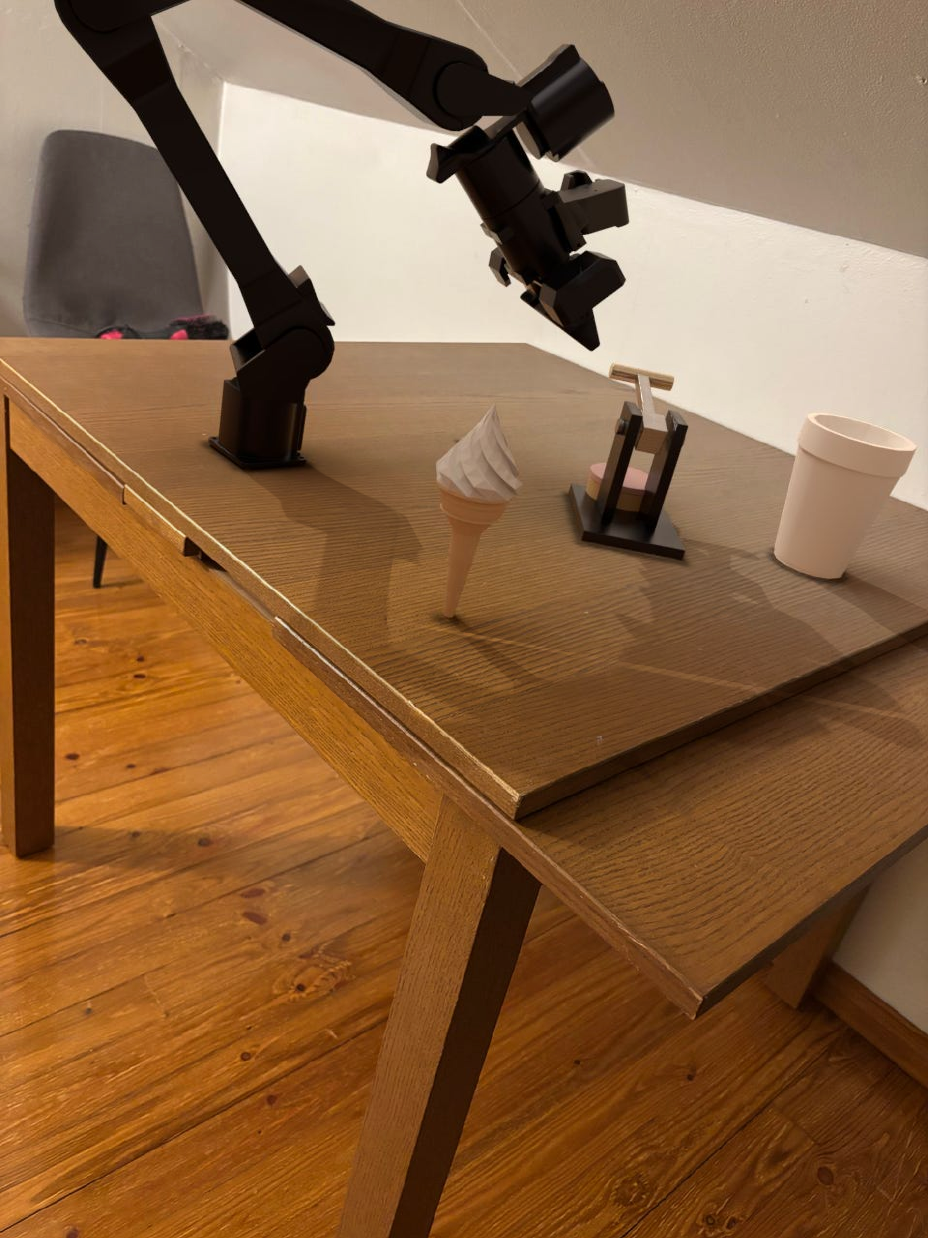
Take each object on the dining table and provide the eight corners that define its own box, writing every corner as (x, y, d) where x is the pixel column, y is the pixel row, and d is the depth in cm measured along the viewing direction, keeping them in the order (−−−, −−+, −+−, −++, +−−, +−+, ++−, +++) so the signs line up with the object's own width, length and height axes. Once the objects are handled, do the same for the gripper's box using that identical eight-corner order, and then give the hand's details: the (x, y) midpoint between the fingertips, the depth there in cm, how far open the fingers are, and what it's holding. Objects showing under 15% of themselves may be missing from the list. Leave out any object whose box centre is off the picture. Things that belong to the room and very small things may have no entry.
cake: (618, 527, 90) (629, 492, 88) (567, 498, 94) (576, 465, 92) (662, 519, 94) (673, 486, 92) (611, 493, 98) (621, 460, 96)
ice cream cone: (459, 648, 63) (512, 424, 56) (389, 614, 65) (432, 394, 59) (502, 622, 68) (555, 411, 61) (435, 591, 70) (479, 384, 63)
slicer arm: (606, 377, 94) (614, 355, 93) (666, 390, 95) (675, 368, 93) (613, 446, 85) (622, 422, 84) (680, 459, 86) (689, 436, 84)
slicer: (567, 494, 95) (597, 384, 90) (657, 512, 95) (692, 404, 91) (580, 543, 84) (615, 421, 79) (681, 563, 85) (721, 444, 80)
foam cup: (752, 565, 88) (804, 426, 82) (759, 534, 96) (807, 405, 90) (859, 599, 86) (920, 459, 80) (857, 565, 94) (913, 435, 88)
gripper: (635, 147, 73) (716, 318, 82) (549, 127, 89) (625, 273, 97) (514, 239, 74) (606, 399, 83) (450, 204, 90) (533, 341, 98)
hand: (594, 347), depth 90 cm, fingers closed
